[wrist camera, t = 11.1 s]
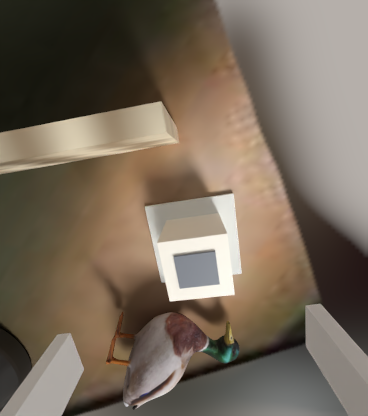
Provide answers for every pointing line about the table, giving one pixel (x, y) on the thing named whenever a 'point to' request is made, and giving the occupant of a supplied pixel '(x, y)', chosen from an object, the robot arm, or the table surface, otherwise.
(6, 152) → the birch screen
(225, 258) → the cream cube
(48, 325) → the table surface
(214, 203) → the felt mat
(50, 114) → the table surface
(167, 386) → the decorative duck model
